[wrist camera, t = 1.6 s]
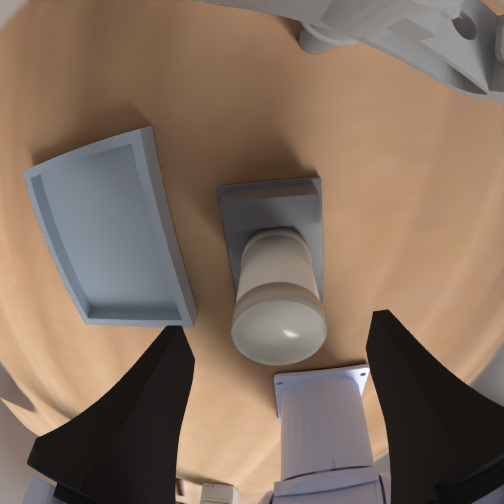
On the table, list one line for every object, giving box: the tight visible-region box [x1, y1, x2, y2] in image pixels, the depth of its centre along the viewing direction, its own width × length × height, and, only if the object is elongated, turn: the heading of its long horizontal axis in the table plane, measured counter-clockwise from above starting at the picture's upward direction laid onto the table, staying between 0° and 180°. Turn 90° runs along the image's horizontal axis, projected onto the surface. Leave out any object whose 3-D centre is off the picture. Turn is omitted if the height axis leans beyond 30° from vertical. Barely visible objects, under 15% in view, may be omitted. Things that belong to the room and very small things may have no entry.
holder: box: [217, 176, 323, 304], centre depth 15 cm, size 8×5×2 cm, turn 7°
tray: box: [23, 126, 198, 327], centre depth 15 cm, size 12×9×2 cm
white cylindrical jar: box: [230, 226, 327, 365], centre depth 13 cm, size 4×4×6 cm
